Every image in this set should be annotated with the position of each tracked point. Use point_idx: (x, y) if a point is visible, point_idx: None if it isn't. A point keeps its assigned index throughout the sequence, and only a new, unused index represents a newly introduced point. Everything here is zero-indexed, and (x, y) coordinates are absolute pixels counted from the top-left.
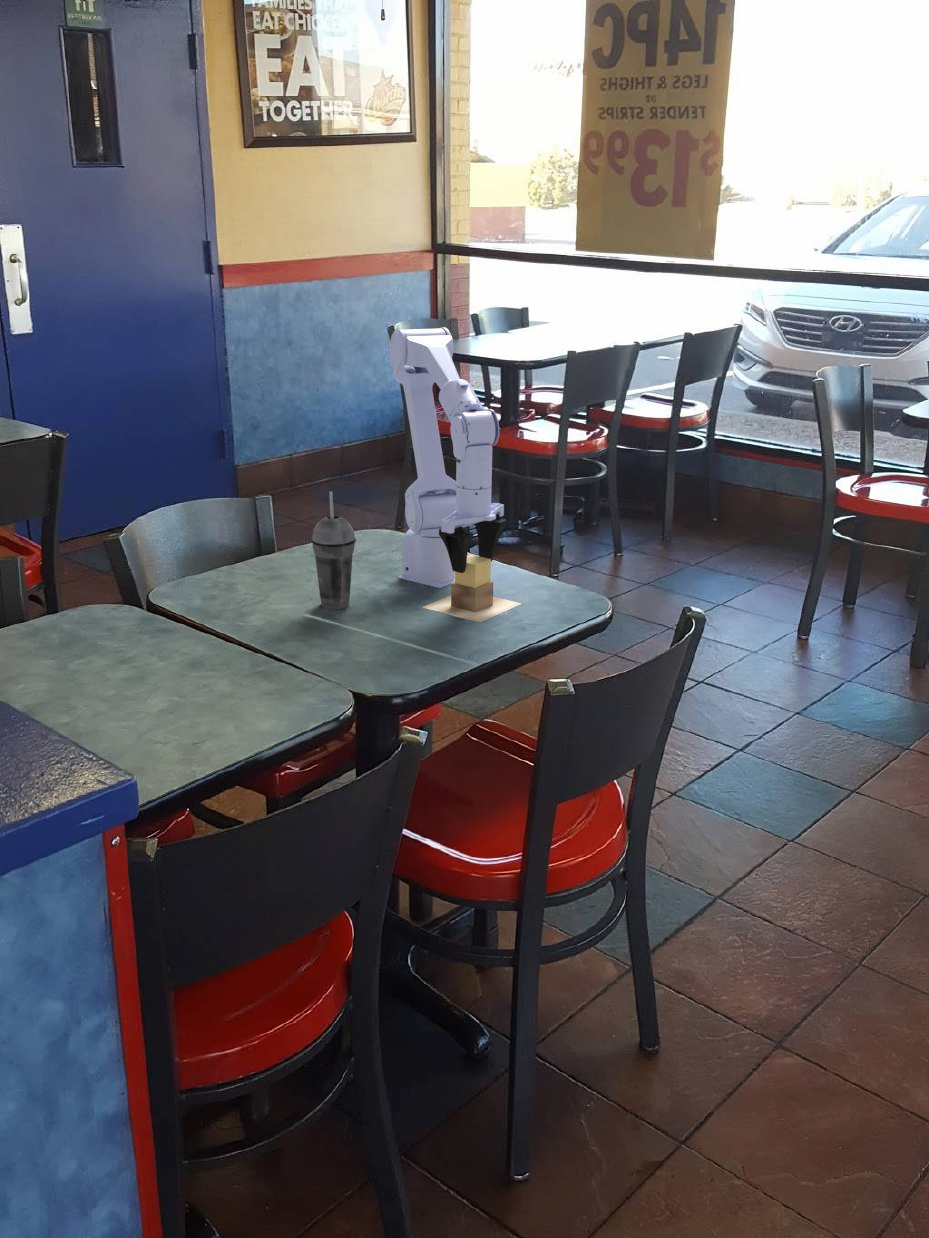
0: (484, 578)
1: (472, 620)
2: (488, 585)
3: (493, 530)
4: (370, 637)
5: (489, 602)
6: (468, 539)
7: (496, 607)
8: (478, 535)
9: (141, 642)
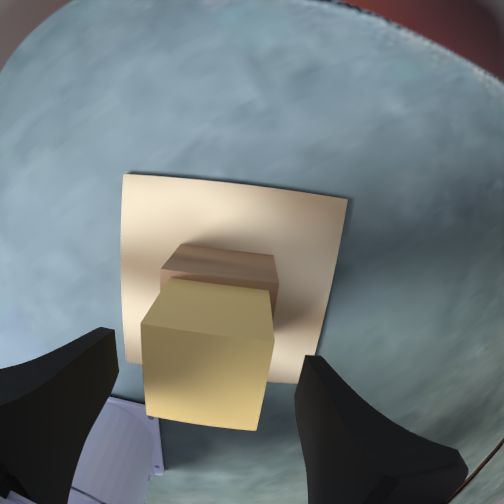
0: (205, 293)
1: (341, 227)
2: (193, 271)
3: (31, 420)
4: (482, 354)
5: (196, 249)
6: (406, 456)
7: (196, 222)
8: (78, 453)
9: (498, 477)
